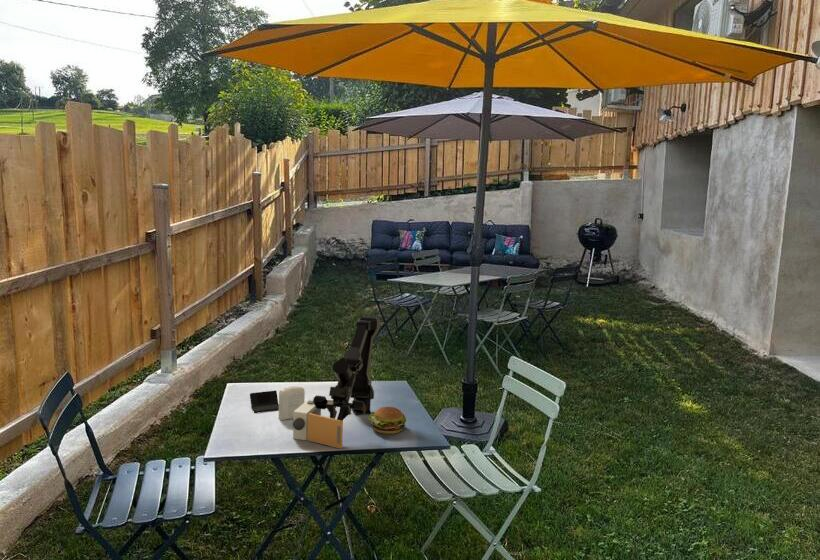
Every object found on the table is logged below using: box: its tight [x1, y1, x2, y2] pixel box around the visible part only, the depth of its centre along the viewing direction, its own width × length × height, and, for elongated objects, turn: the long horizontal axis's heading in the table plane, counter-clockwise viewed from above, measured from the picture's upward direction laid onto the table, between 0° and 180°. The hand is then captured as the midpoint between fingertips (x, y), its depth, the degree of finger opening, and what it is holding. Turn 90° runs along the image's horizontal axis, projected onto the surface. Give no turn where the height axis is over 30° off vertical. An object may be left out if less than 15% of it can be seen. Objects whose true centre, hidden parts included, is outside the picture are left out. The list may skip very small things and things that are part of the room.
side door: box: [306, 413, 344, 449], centre depth 216 cm, size 14×1×10 cm, turn 64°
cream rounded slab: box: [278, 385, 306, 421], centre depth 240 cm, size 10×4×12 cm, turn 123°
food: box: [367, 406, 407, 435], centre depth 233 cm, size 14×14×8 cm
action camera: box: [292, 398, 322, 441], centre depth 226 cm, size 16×5×11 cm, turn 167°
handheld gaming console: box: [249, 390, 279, 414], centre depth 250 cm, size 12×7×10 cm
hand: (333, 427), depth 217 cm, fingers closed
